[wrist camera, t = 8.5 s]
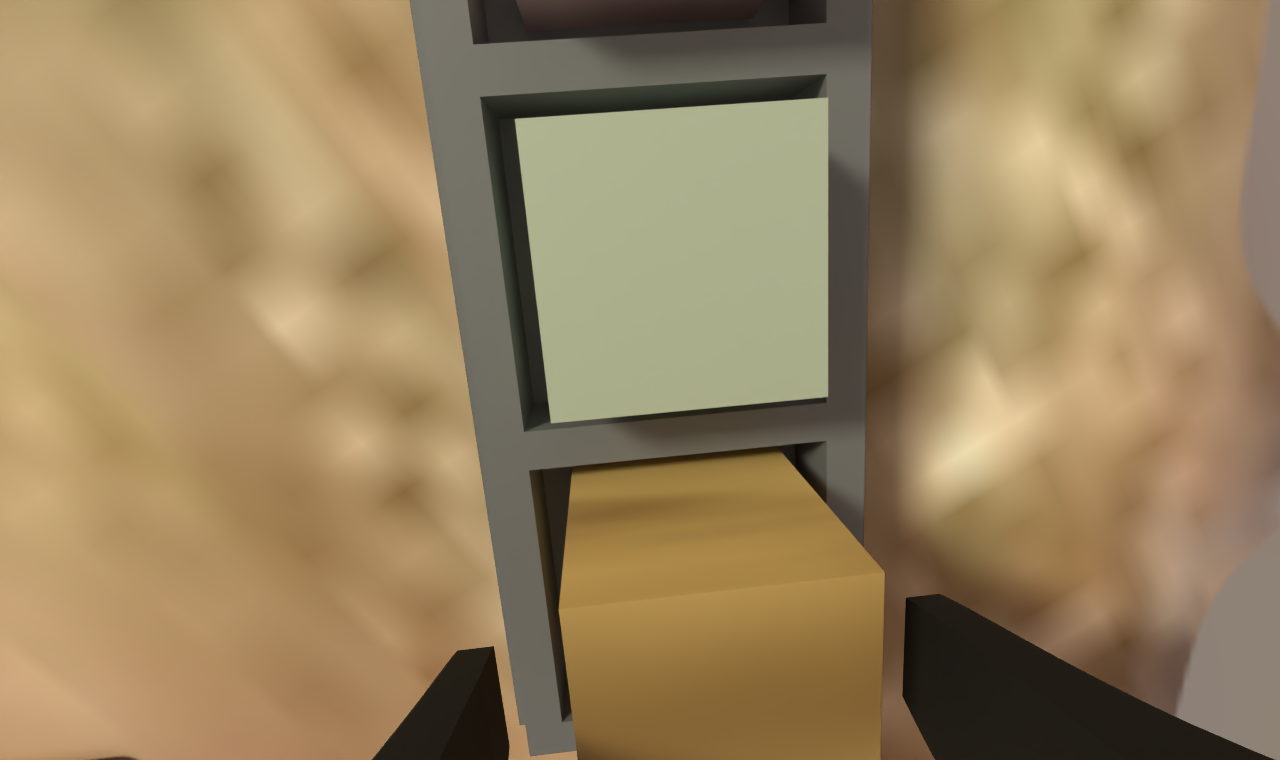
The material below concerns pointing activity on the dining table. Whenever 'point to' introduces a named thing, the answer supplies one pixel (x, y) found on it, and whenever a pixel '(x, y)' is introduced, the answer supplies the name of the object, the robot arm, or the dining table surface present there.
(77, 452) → the dining table surface
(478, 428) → the five-cell board
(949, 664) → the robot arm
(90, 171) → the dining table surface
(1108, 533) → the dining table surface
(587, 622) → the ochre block
